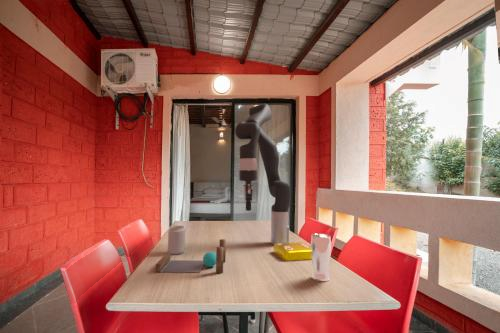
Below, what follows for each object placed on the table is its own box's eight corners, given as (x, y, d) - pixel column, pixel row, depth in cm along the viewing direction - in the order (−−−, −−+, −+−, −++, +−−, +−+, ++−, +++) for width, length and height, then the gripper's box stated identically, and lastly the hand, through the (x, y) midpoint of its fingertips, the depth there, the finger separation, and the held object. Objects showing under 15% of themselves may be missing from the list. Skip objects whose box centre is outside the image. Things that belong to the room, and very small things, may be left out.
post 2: (223, 271, 101) (223, 246, 102) (222, 273, 99) (223, 248, 99) (216, 271, 101) (216, 246, 101) (215, 273, 98) (216, 248, 99)
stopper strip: (170, 260, 113) (170, 253, 113) (159, 272, 99) (160, 264, 99) (166, 260, 113) (166, 253, 113) (155, 272, 99) (155, 264, 99)
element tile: (316, 260, 119) (316, 249, 119) (284, 262, 115) (284, 250, 115) (301, 251, 133) (301, 241, 134) (272, 252, 129) (272, 242, 130)
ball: (220, 259, 109) (214, 247, 109) (218, 265, 104) (212, 252, 103) (208, 265, 109) (202, 253, 109) (205, 271, 104) (199, 258, 103)
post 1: (225, 260, 114) (226, 239, 114) (225, 262, 111) (225, 240, 112) (219, 260, 114) (219, 239, 114) (218, 262, 111) (219, 240, 111)
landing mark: (205, 261, 113) (205, 260, 113) (200, 272, 99) (200, 272, 99) (171, 260, 113) (171, 260, 113) (161, 272, 99) (161, 271, 99)
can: (187, 251, 127) (188, 225, 127) (178, 255, 120) (179, 228, 120) (174, 250, 129) (174, 224, 130) (164, 254, 122) (165, 227, 123)
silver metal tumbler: (319, 283, 91) (320, 238, 92) (306, 276, 97) (306, 234, 98) (335, 280, 94) (335, 236, 95) (321, 273, 101) (321, 232, 101)
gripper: (238, 169, 122) (239, 208, 121) (239, 169, 109) (240, 212, 108) (255, 169, 123) (255, 208, 122) (258, 169, 109) (258, 212, 109)
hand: (248, 210), depth 115 cm, fingers closed
